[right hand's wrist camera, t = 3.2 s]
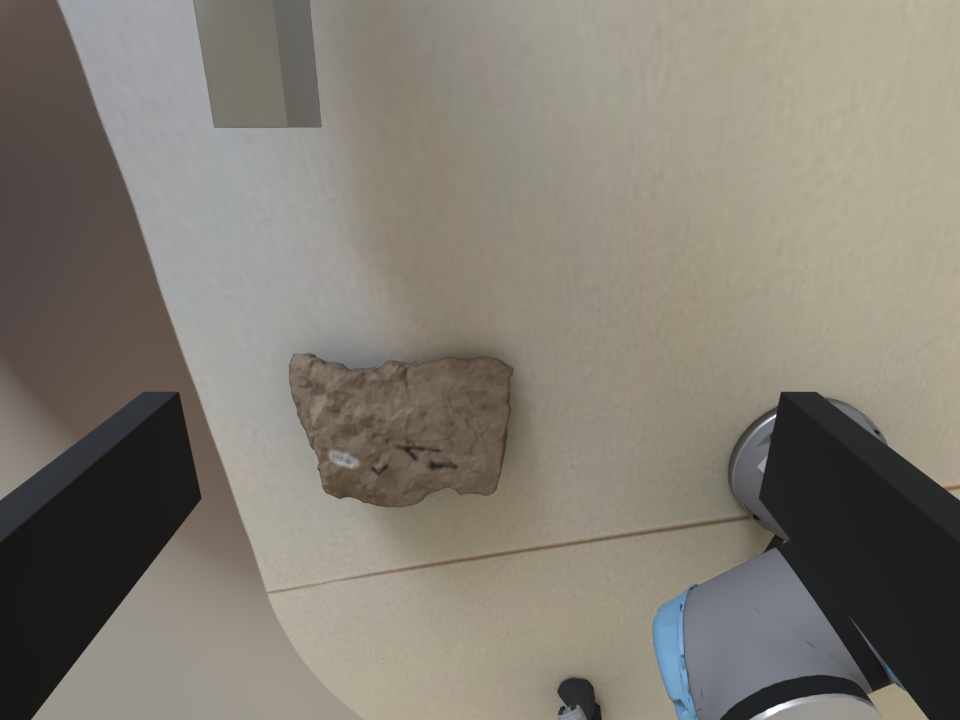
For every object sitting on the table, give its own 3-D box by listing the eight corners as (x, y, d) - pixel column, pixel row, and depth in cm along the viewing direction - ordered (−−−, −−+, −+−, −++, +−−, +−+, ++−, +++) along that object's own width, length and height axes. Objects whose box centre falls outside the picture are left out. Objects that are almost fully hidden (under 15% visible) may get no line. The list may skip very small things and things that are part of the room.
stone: (296, 495, 57) (287, 521, 51) (292, 350, 55) (281, 359, 49) (500, 486, 61) (513, 508, 55) (503, 348, 59) (517, 357, 53)
